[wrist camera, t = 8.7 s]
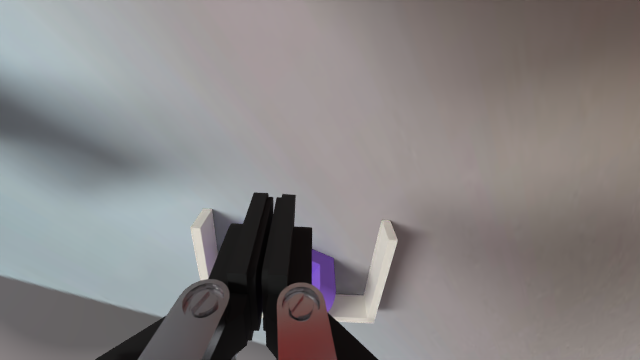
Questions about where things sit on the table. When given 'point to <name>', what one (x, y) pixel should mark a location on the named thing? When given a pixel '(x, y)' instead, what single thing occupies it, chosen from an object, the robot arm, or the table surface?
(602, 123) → the table surface
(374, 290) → the white u-shaped fence
